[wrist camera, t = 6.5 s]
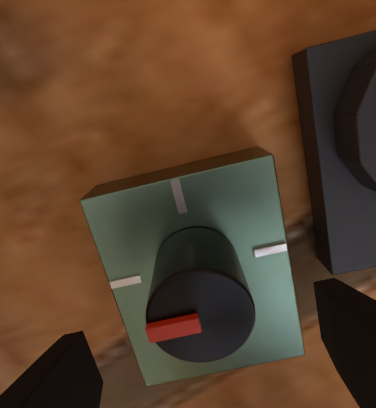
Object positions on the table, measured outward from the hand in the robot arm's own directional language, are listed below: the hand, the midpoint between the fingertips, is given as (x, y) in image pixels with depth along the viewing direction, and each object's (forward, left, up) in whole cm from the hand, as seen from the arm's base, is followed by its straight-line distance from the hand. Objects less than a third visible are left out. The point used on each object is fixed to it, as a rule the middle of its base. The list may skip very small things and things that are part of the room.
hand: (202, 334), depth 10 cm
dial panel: (-1, 0, -7) cm, 7 cm away
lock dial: (0, 0, -4) cm, 4 cm away
